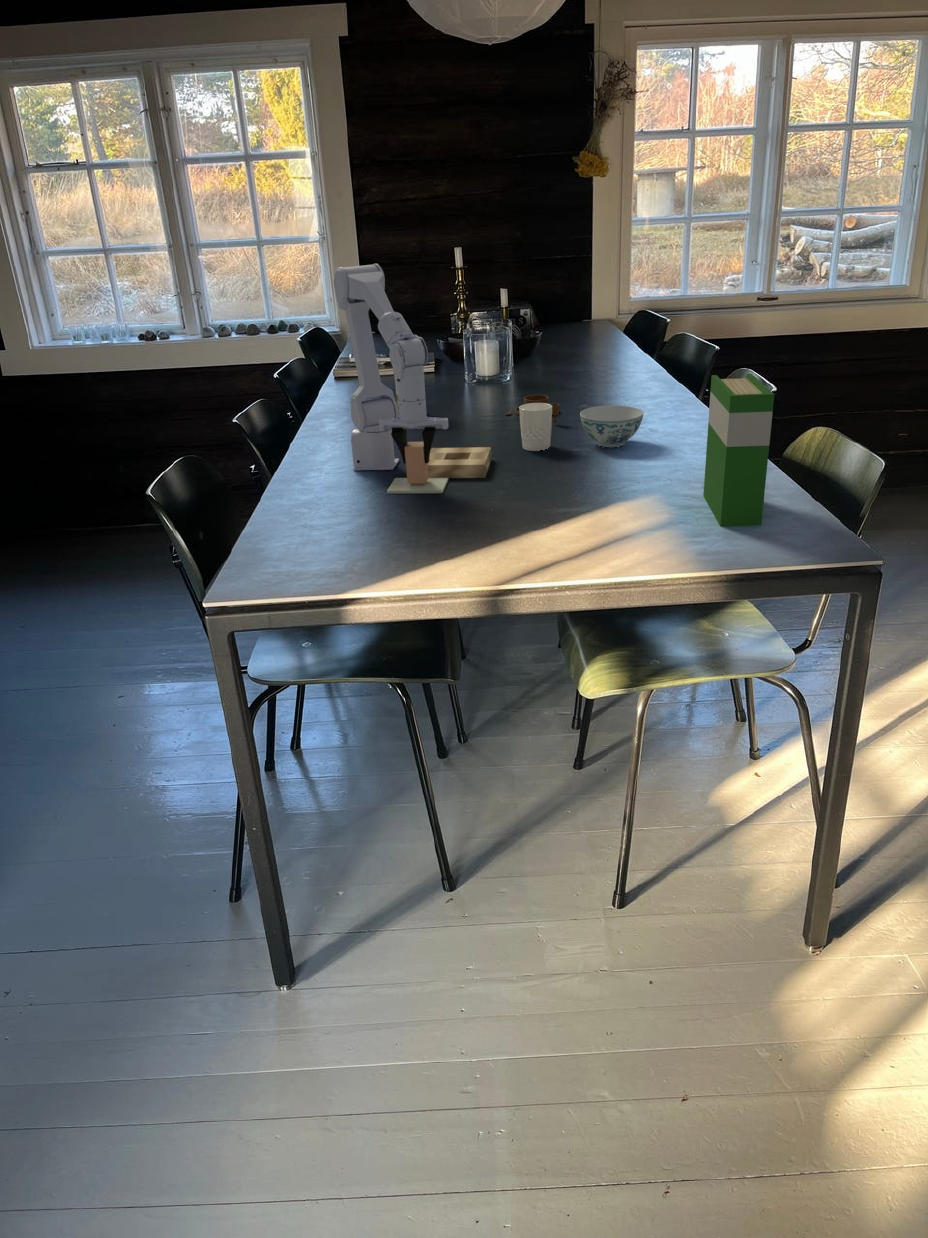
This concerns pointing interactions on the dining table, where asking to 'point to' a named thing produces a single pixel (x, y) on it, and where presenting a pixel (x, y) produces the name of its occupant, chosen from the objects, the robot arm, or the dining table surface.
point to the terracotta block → (416, 463)
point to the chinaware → (611, 424)
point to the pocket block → (459, 462)
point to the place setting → (539, 400)
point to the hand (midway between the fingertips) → (416, 462)
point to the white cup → (535, 426)
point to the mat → (418, 486)
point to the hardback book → (737, 449)
